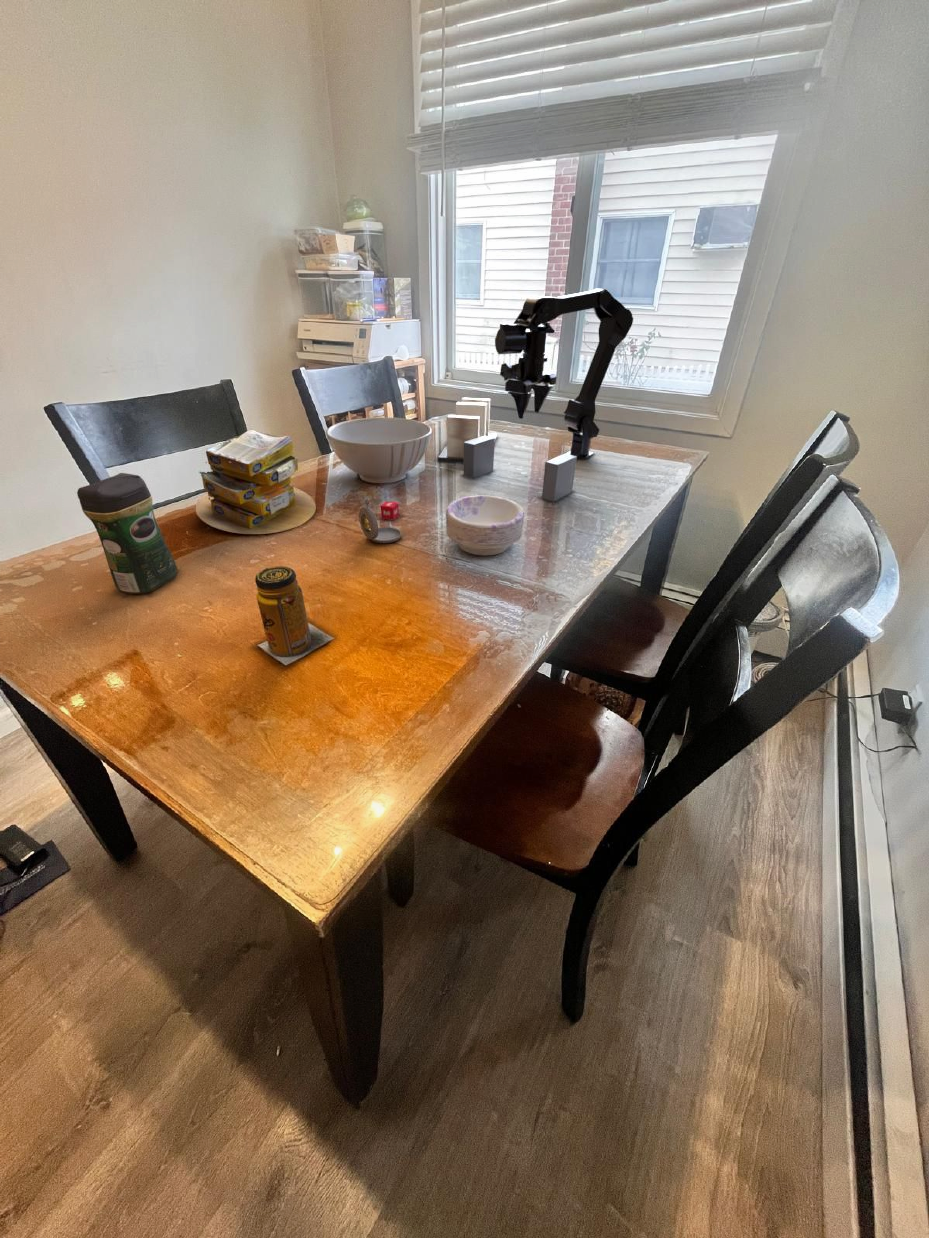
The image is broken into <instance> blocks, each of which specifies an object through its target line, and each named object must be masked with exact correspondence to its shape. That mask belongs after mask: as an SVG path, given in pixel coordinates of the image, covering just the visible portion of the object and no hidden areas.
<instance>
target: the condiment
mask: <svg viewBox="0 0 929 1238" xmlns="http://www.w3.org/2000/svg"><path fill="white" fill-rule="evenodd" d="M254 581H255V582H254V583H255V584H256V585H255V586H256V591H257V593H256V603H257V606H258V609H259V613H260V617H261V621H262V626H263V631H264V635H265V638H266V640H265V641H264V642H262V643H261V642H260V643H259V644H257V646H258V647H259V648H261V649H262V650H263V651H264V652H265V653H267V654H268V655H270V656H271V657H272V658H274V659H275V660H276V661H278V662H280V663H282V665H284V666H288V665H290V664H291V663H294V662H296V661H298V660H299V659H300V658H301V659H302V658H303V657H305V656H306V655H309V654H310V653H311V652H313V651H315V650H316V649H318V648H320V647H322V646H323V645H325V644H327V643H328V642H330V641H332V640H334V639H335V637H333V636H332V635H330V634H327V633H326V632H324V631H323V630H321V629H320V628H317V627H316V626H314V625H312V623H310V622H309V620H308V615H307V609H306V603H305V598H304V594H303V590H302V588H301V586H300V585H299V581H298V579H297V574H296V572H295V570H294V569H292V568H290V567H288V566H284V565H283V566H282V565H279V566H278V565H276V566H270V567H266V568H265V569H263V570H261V571H259V572H258V573H257V574H256V575H255V579H254Z"/></svg>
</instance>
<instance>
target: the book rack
mask: <svg viewBox="0 0 929 1238" xmlns="http://www.w3.org/2000/svg"><path fill="white" fill-rule="evenodd" d="M461 402H475V403H487V410H486V436H489V437H493V438H495V441H496V440H497V438H498V433H494V432H490V424H491V423H490V422H491V421H490V420H491V398H483V397H481V398H480V397H462V398H461ZM479 429H480V417H476V416H457V415H456V414H454V415H453V414H448V415H447V416H446V444H445V446H444V448H443V449H442V450H441V452H440V453H439V455H438V456H437V462H439V463H440V462H441V463H442V462H444V463H458V464H463V457H464V442H466V441H469V440H472V439H475V438H478V437H479Z"/></svg>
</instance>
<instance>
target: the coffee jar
mask: <svg viewBox="0 0 929 1238" xmlns="http://www.w3.org/2000/svg"><path fill="white" fill-rule="evenodd" d="M76 495H77V499H78V500H79V504H80V507H81V510H82V512H83V514H84V515H85V516H86V517H87V519H89V520H90V521H91V523H92V524H93V526H94V528H95V530H96V532H97V534H98V535H97V536H99V537H98V538H99V541H100V544H101V546H102V549H103V552H104V555H105V558H106V562H107V565H108V569H109V572H110V576H111V578H112V581H113V584H114V586H115V588H116V589H117V590H119V591H120V592H123V593H125V594H129V595H139V594H141V595H142V594H148V593H151V592H153V591H155V590H157V589H159V588H161V587H163V586H164V585H166V584H167V583H169V582H170V581H172V580H173V579H175V578H176V577H177V575H178V573H179V568H178V566H177V564H176V563H177V562H176V561H175V559H174V556H173V555H172V553H171V550H170V549H169V546H168V545H167V542H166V540H165V538H164V535H163V533H162V531H161V529H160V527H159V525H158V522H157V519H156V516H155V513H154V508H153V496H152V494H151V492H150V490H149V488H148V486H147V484H146V481H145V480H144V479H143V478H142V477H141V476H140V475H138V474H133V473H126V472H119V473H118V474H115V475H113V476H110V477H107V478H104V479H101V480H99V481H96V482H94V483H91V484H88V485H85V486H81V487H78V489H77V491H76Z"/></svg>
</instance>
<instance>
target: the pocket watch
mask: <svg viewBox="0 0 929 1238" xmlns="http://www.w3.org/2000/svg"><path fill="white" fill-rule="evenodd" d="M361 497H362V500H363V501H364V504H365V505H364V506H362V507H360V509H359V511H358V521H359V526H360V528H361V530H362V533H363V534H364V536H365V538H367V539H369V540H371V541H372V542H374V543H378V544H389V543H394V542H397V541H398V540H400V539H401V538H402V531H401V529H399V528H396V527H392V526H382V527H379V523H378V519H377V517H376V514H375V512H374V511H373V509H372V508H371V507H370V503H371V501H370V499H369V498H368V497H367V496H366V495H364V494H362V495H361Z"/></svg>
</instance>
